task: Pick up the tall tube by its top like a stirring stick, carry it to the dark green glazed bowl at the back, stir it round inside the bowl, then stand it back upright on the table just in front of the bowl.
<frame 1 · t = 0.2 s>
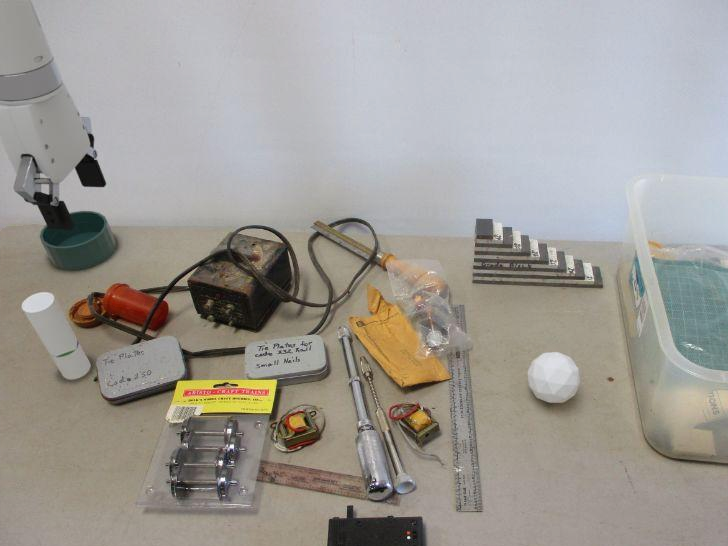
hand: (79, 206, 78), 29 cm above the worktop, tool pointing down, fingers open, 9 cm apart
bowl: (84, 251, 117), on the worktop
tube: (77, 369, 95), on the worktop
ball: (549, 393, 93), on the worktop
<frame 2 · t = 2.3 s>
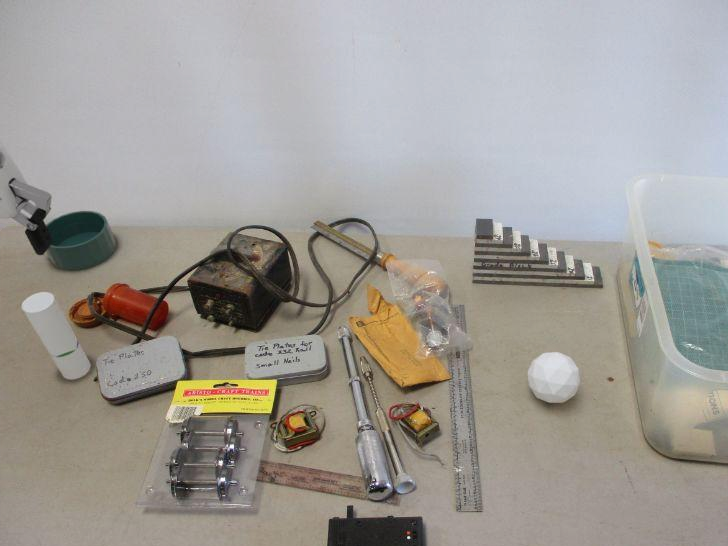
hand: (9, 247, 78), 25 cm above the worktop, tool pointing down, fingers open, 9 cm apart
nothing on the worktop moved.
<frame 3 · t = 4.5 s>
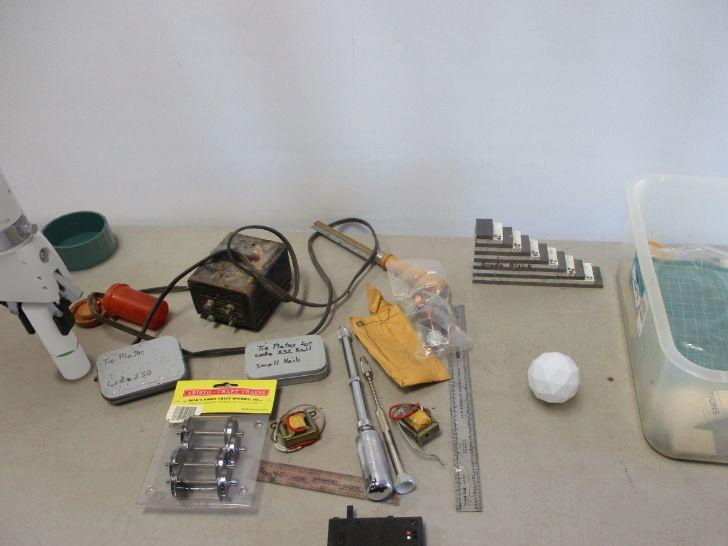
hand: (52, 327, 89), 10 cm above the worktop, tool pointing down, fingers closed on tube, 4 cm apart
tube: (77, 369, 95), on the worktop, touching gripper
everything else where it was.
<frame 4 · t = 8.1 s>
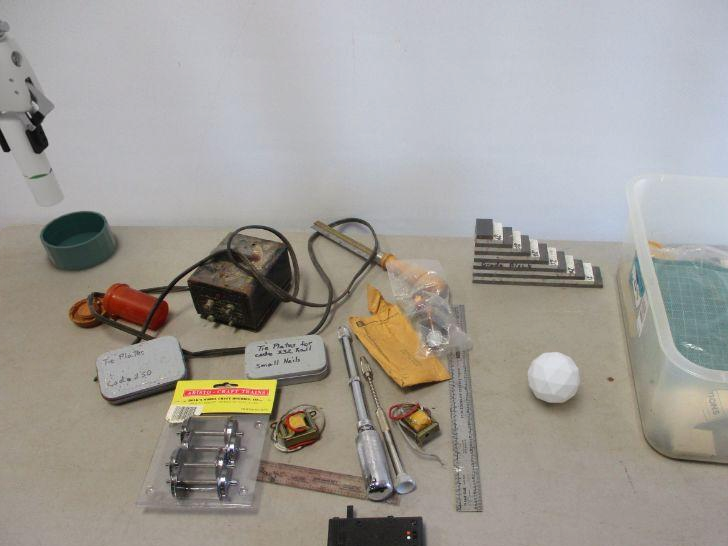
hand: (26, 147, 93), 27 cm above the worktop, tool pointing down, fingers closed on tube, 4 cm apart
tube: (50, 200, 100), point 17 cm above the worktop, touching gripper
everything else where it was.
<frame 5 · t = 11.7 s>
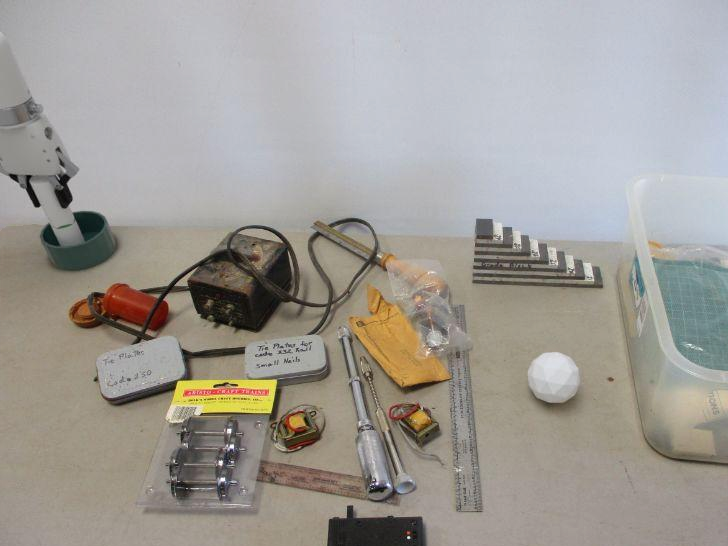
hand: (54, 203, 109), 12 cm above the worktop, tool pointing down, fingers closed on tube, 4 cm apart
tube: (73, 245, 116), point 2 cm above the worktop, touching gripper
everything else where it was.
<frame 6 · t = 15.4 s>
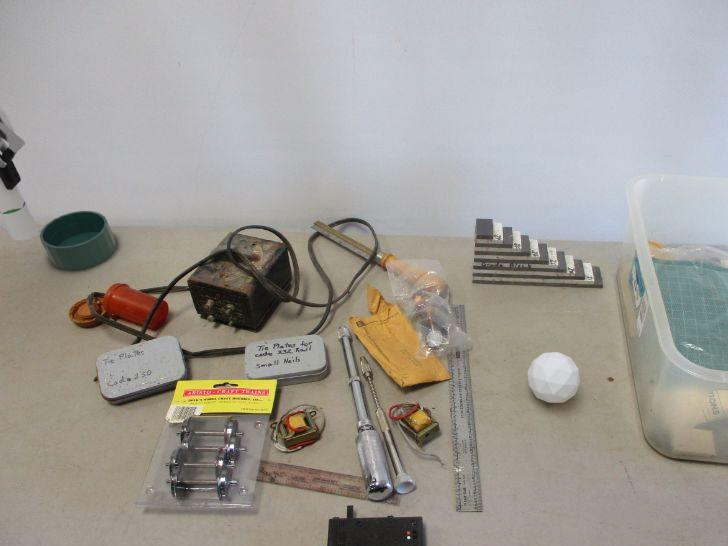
tube: (25, 233, 100), point 13 cm above the worktop, touching gripper
everything else where it was.
when the fingers open (10 cm above the worktop, at t = 18.7 s): tube stays where it is, on the worktop.
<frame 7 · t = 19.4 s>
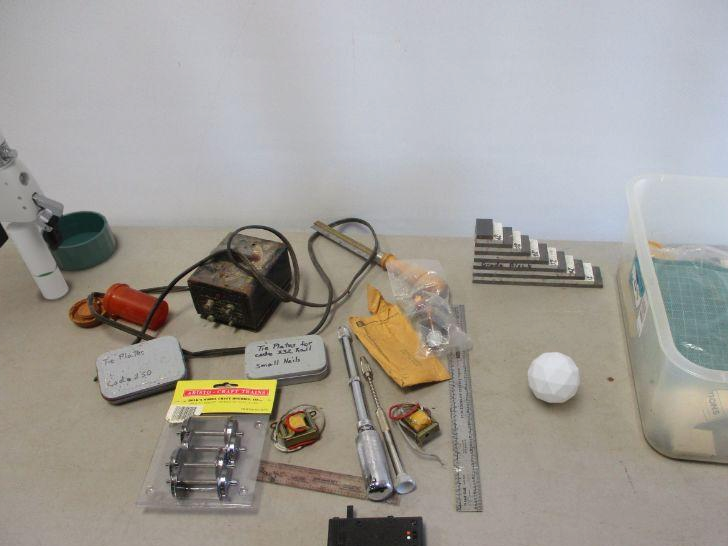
hand: (30, 244, 101), 11 cm above the worktop, tool pointing down, fingers open, 9 cm apart
tube: (56, 292, 109), on the worktop
everything else where it was.
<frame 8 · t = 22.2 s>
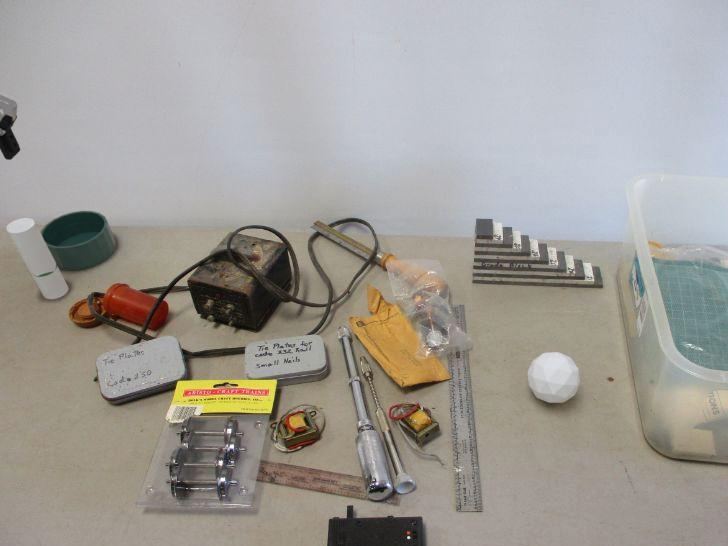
nothing on the worktop moved.
at the end: tube inside the target area on the worktop beside the bowl (0.0 cm from its centre), on the worktop; tube tilted 0°; tube moved 21.7 cm from its start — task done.
